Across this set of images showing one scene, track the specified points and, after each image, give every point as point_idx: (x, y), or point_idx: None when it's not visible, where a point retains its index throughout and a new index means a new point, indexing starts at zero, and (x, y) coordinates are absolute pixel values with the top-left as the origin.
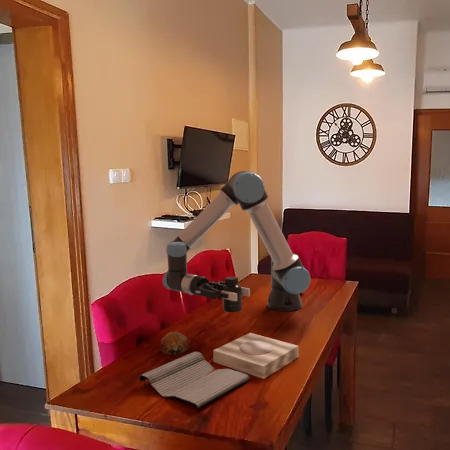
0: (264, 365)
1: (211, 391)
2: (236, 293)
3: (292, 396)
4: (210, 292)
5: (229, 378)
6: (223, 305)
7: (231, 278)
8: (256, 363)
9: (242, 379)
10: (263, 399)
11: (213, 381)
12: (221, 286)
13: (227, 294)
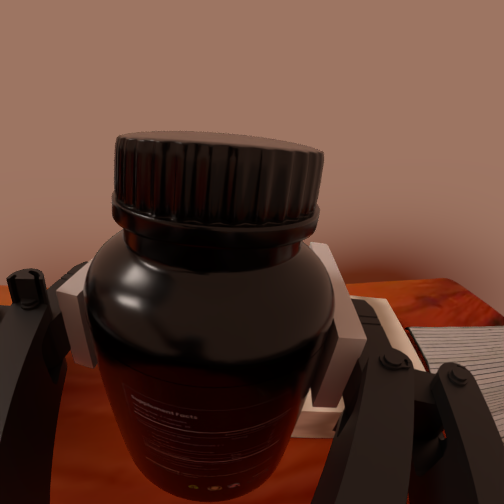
0: (382, 299)
1: (485, 331)
2: (315, 243)
3: (376, 285)
4: (487, 424)
5: (446, 338)
6: (277, 461)
7: (248, 137)
8: (390, 309)
9: (425, 327)
10: (416, 302)
11: (474, 348)
12: (7, 498)
13: (351, 299)
